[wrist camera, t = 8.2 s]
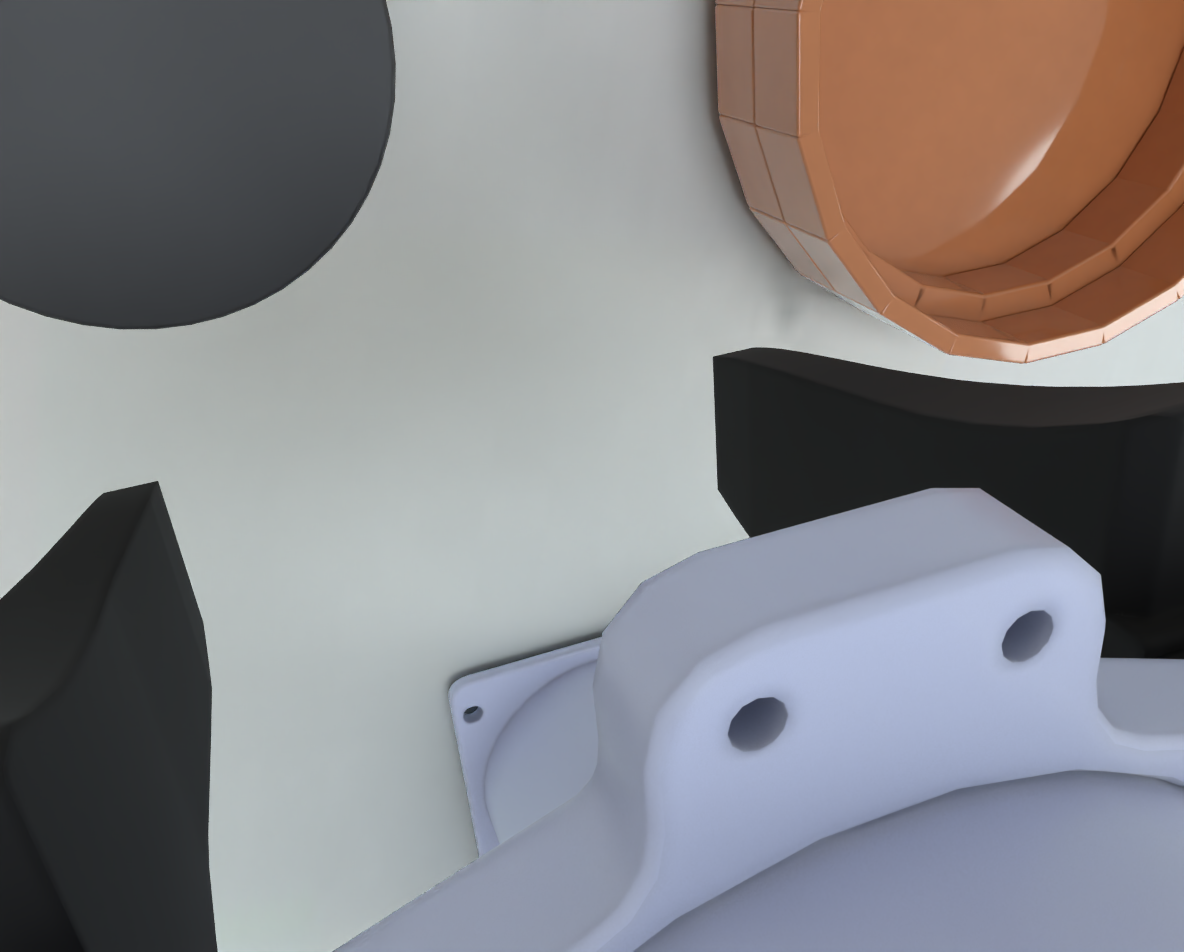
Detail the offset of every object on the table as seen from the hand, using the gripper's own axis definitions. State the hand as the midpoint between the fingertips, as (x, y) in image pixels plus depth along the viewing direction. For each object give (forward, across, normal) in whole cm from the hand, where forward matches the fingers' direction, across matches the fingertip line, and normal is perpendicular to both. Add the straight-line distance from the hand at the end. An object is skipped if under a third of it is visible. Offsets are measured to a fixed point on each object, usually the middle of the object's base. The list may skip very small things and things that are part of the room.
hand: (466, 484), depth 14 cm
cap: (+4, +3, -5) cm, 7 cm away
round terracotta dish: (+10, -15, -3) cm, 19 cm away
